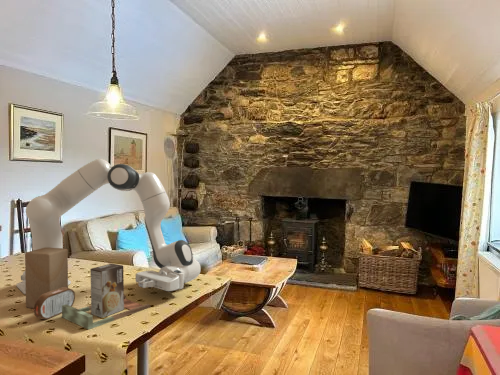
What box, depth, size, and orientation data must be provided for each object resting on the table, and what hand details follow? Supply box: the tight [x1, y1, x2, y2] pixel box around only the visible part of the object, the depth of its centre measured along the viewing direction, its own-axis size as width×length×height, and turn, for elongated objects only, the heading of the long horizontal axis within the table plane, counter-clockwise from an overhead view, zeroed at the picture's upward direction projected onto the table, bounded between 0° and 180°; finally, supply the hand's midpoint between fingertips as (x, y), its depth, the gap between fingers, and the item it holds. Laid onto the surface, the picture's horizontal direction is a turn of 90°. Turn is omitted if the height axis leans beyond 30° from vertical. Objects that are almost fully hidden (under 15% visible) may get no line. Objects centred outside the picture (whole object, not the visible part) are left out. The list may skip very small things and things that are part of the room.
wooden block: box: [24, 247, 69, 309], centre depth 138 cm, size 10×10×20 cm
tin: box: [33, 287, 76, 320], centre depth 129 cm, size 15×3×8 cm, turn 159°
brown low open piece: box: [61, 295, 151, 330], centre depth 131 cm, size 16×24×4 cm, turn 144°
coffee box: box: [89, 263, 125, 319], centre depth 131 cm, size 9×6×16 cm
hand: (140, 285), depth 143 cm, fingers closed
